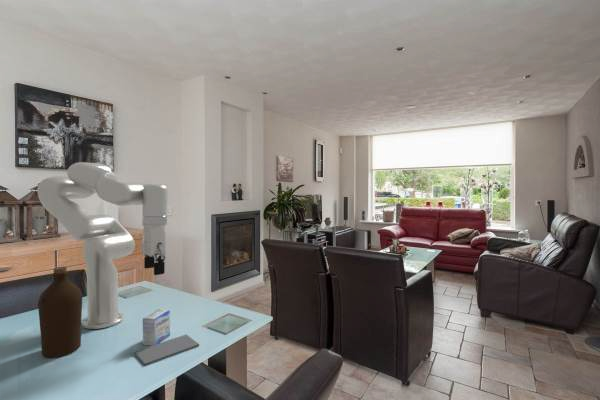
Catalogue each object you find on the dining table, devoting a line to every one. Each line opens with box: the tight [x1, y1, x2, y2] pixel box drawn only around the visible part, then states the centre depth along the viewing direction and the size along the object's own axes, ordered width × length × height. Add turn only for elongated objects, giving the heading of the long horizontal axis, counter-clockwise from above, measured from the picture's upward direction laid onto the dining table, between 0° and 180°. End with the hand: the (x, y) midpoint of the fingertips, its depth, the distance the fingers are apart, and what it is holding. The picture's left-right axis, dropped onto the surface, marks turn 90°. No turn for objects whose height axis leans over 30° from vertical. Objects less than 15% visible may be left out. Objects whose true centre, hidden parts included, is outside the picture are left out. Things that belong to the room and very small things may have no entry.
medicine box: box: [142, 308, 171, 346], centre depth 103 cm, size 8×4×9 cm, turn 168°
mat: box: [133, 334, 200, 366], centre depth 97 cm, size 9×16×1 cm, turn 134°
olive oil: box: [37, 266, 83, 359], centre depth 96 cm, size 11×11×25 cm
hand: (154, 271), depth 108 cm, fingers open, 9 cm apart
